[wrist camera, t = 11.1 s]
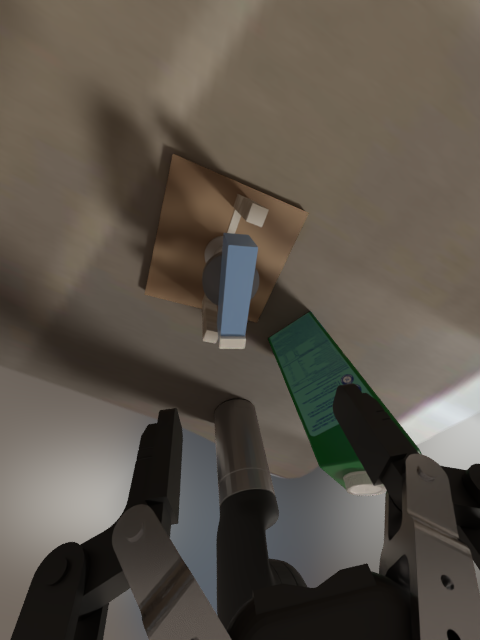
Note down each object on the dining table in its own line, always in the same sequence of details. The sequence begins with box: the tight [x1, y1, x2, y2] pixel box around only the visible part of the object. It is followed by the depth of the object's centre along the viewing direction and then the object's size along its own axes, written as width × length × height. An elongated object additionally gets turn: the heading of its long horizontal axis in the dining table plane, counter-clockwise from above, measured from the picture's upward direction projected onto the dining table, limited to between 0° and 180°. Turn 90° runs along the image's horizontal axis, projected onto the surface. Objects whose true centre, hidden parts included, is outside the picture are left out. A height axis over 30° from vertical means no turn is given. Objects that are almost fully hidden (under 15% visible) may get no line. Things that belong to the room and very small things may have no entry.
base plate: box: [145, 154, 309, 343], centre depth 30 cm, size 18×18×11 cm
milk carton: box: [268, 311, 422, 496], centre depth 35 cm, size 9×9×25 cm
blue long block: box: [202, 233, 259, 349], centre depth 24 cm, size 6×10×6 cm, turn 174°
